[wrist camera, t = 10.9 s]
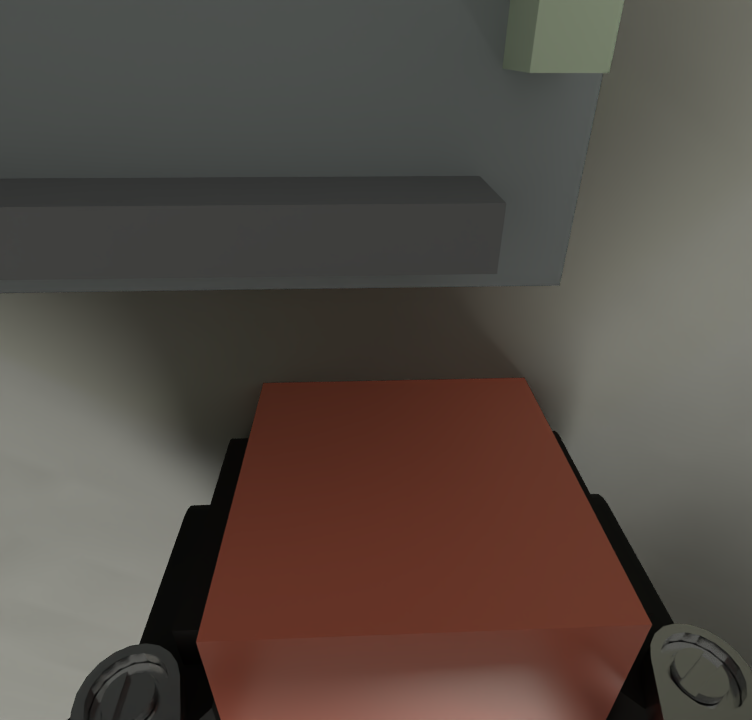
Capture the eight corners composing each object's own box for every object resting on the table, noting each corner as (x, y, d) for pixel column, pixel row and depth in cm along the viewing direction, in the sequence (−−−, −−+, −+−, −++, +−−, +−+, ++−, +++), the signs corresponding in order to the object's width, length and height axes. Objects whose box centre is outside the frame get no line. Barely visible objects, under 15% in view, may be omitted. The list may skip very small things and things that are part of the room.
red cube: (523, 376, 10) (651, 624, 6) (492, 547, 13) (564, 804, 8) (263, 381, 10) (195, 642, 6) (286, 554, 12) (252, 820, 8)
